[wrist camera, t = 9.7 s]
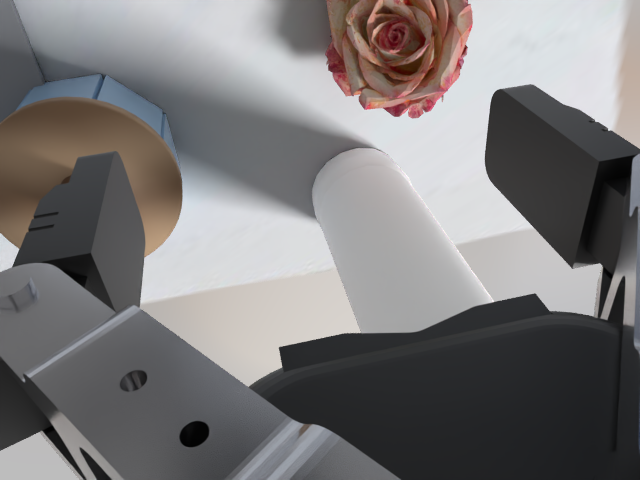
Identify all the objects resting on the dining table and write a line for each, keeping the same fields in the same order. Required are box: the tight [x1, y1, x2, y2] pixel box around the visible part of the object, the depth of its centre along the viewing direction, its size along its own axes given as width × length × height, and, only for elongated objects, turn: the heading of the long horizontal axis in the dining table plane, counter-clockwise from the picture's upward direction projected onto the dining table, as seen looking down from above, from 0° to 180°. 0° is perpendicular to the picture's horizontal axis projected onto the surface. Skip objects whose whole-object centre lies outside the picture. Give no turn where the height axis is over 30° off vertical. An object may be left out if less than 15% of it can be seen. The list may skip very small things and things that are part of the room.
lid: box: [0, 97, 182, 257], centre depth 33 cm, size 12×12×6 cm
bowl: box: [16, 74, 180, 169], centre depth 37 cm, size 11×11×5 cm
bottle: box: [312, 148, 494, 333], centre depth 33 cm, size 8×8×30 cm
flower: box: [325, 0, 473, 118], centre depth 36 cm, size 10×9×8 cm
